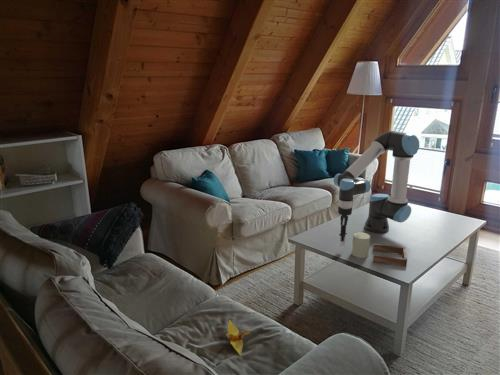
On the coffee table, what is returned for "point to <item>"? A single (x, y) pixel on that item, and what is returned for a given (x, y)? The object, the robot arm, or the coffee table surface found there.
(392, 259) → the bay
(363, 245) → the can
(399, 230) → the coffee table surface
